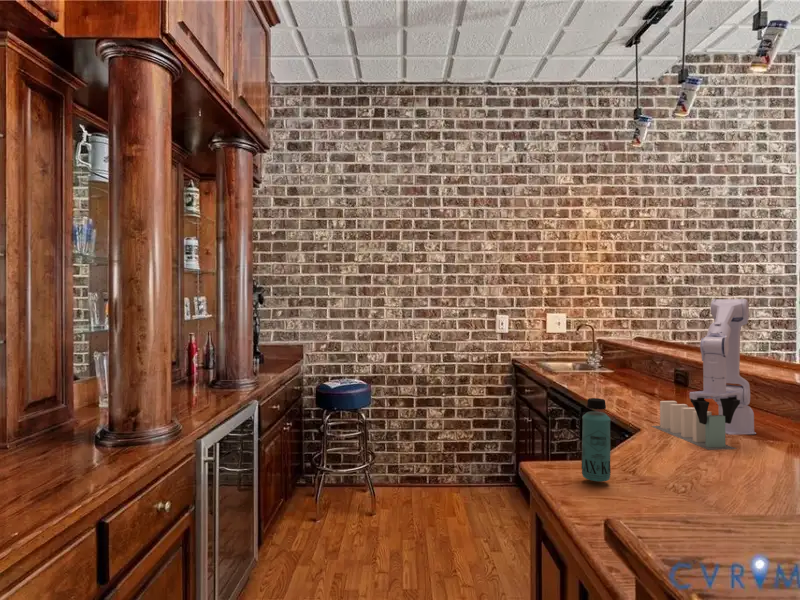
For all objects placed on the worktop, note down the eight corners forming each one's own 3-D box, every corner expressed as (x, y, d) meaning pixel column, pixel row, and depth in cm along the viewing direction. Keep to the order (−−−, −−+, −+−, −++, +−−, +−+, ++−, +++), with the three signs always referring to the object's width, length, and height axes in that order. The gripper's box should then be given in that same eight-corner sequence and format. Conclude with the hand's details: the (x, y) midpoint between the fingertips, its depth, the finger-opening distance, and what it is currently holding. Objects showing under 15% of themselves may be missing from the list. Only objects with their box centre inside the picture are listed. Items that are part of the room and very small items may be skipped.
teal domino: (721, 445, 147) (721, 415, 147) (725, 446, 145) (725, 416, 145) (705, 445, 146) (705, 415, 146) (709, 447, 145) (709, 416, 145)
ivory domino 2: (684, 431, 163) (684, 403, 163) (687, 432, 162) (687, 404, 162) (670, 431, 163) (670, 404, 163) (673, 432, 161) (673, 405, 161)
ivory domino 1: (674, 427, 169) (673, 400, 169) (677, 428, 167) (676, 401, 167) (660, 427, 168) (659, 401, 168) (663, 428, 167) (662, 401, 167)
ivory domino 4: (708, 440, 152) (707, 411, 152) (711, 441, 151) (711, 412, 151) (692, 440, 152) (692, 411, 152) (696, 442, 150) (696, 412, 150)
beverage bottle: (576, 478, 120) (576, 396, 120) (603, 478, 120) (602, 395, 120) (589, 488, 113) (588, 401, 113) (617, 487, 114) (616, 401, 114)
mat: (675, 426, 171) (675, 425, 171) (737, 449, 143) (737, 448, 143) (650, 426, 170) (650, 426, 170) (708, 450, 142) (708, 449, 142)
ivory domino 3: (696, 435, 158) (695, 407, 158) (699, 436, 156) (699, 408, 156) (681, 436, 157) (680, 407, 157) (684, 437, 156) (684, 408, 156)
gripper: (700, 379, 141) (701, 427, 141) (748, 378, 143) (748, 425, 143) (684, 376, 148) (685, 421, 148) (729, 375, 150) (730, 420, 150)
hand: (715, 423), depth 146 cm, fingers open, 7 cm apart
